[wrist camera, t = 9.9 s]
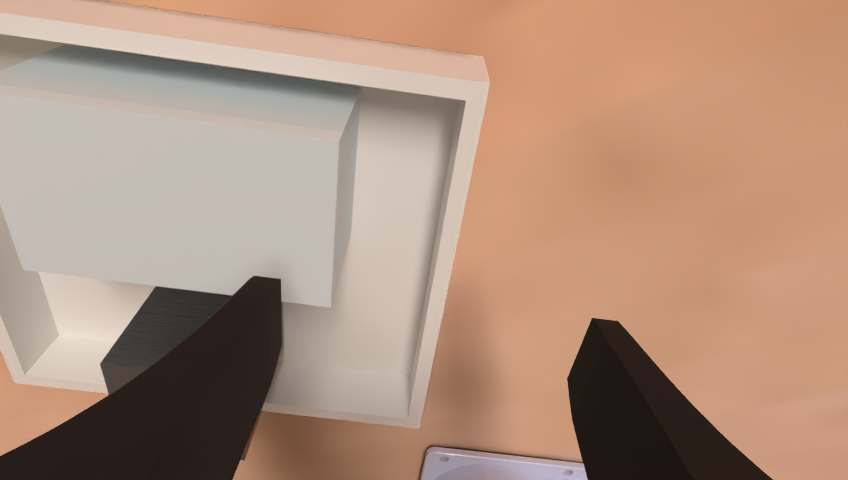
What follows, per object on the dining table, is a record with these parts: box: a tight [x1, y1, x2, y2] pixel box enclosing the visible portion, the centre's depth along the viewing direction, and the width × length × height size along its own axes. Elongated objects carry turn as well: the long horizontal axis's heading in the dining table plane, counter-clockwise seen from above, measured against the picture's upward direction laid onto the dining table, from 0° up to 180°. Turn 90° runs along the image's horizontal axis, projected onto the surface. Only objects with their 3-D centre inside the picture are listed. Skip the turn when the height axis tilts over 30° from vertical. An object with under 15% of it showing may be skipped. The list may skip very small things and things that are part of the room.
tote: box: [0, 0, 490, 429], centre depth 21 cm, size 18×16×3 cm
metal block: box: [100, 286, 284, 460], centre depth 22 cm, size 4×4×6 cm
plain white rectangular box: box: [0, 45, 361, 308], centre depth 18 cm, size 10×6×5 cm, turn 82°
